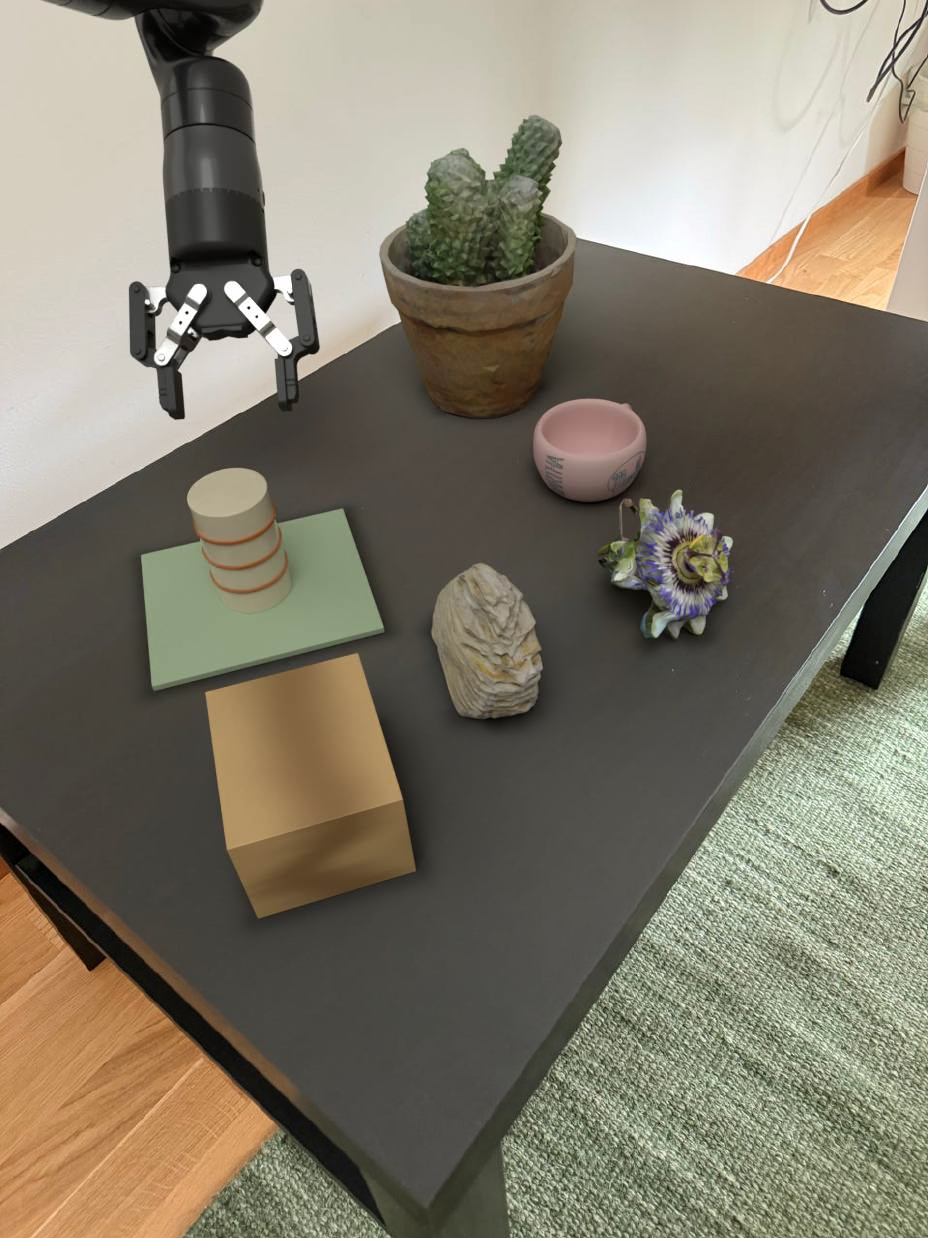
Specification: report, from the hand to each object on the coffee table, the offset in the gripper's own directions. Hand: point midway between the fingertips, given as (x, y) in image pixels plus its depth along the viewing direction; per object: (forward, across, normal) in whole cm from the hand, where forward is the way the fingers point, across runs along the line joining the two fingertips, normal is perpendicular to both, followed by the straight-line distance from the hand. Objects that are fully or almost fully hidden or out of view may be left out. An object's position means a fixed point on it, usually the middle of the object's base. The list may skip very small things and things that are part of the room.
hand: (231, 413), depth 72 cm
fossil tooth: (+22, +18, -3) cm, 29 cm away
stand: (+30, +6, -11) cm, 32 cm away
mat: (+14, 0, +5) cm, 15 cm away
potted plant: (-6, +20, +25) cm, 33 cm away
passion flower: (+17, +32, +2) cm, 36 cm away
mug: (+5, +30, +14) cm, 33 cm away
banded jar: (+14, 0, +4) cm, 14 cm away
